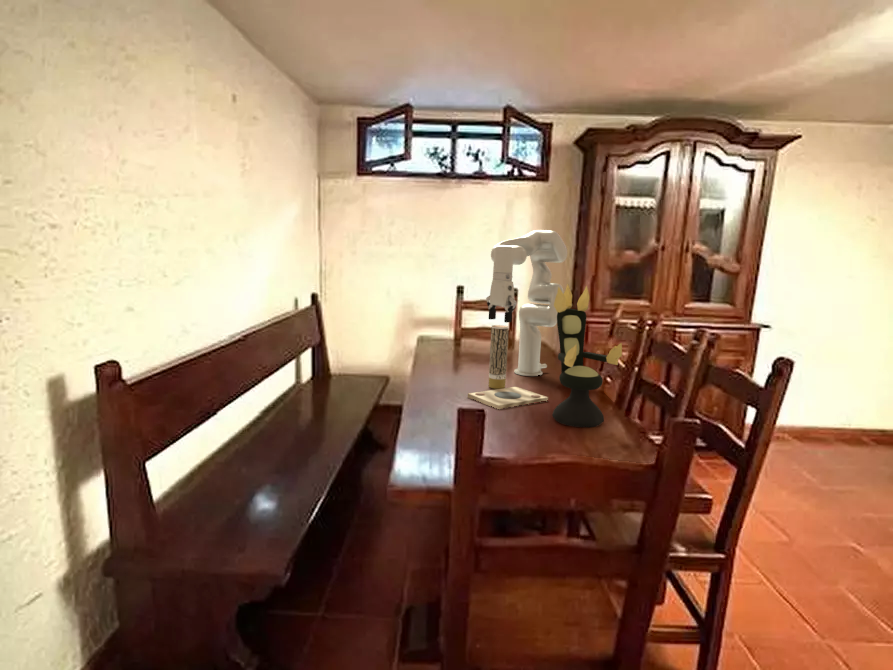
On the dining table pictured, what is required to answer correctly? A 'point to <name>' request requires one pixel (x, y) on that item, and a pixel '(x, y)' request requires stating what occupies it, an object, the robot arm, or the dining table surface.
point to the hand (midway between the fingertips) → (499, 320)
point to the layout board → (507, 397)
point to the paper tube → (498, 356)
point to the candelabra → (578, 363)
